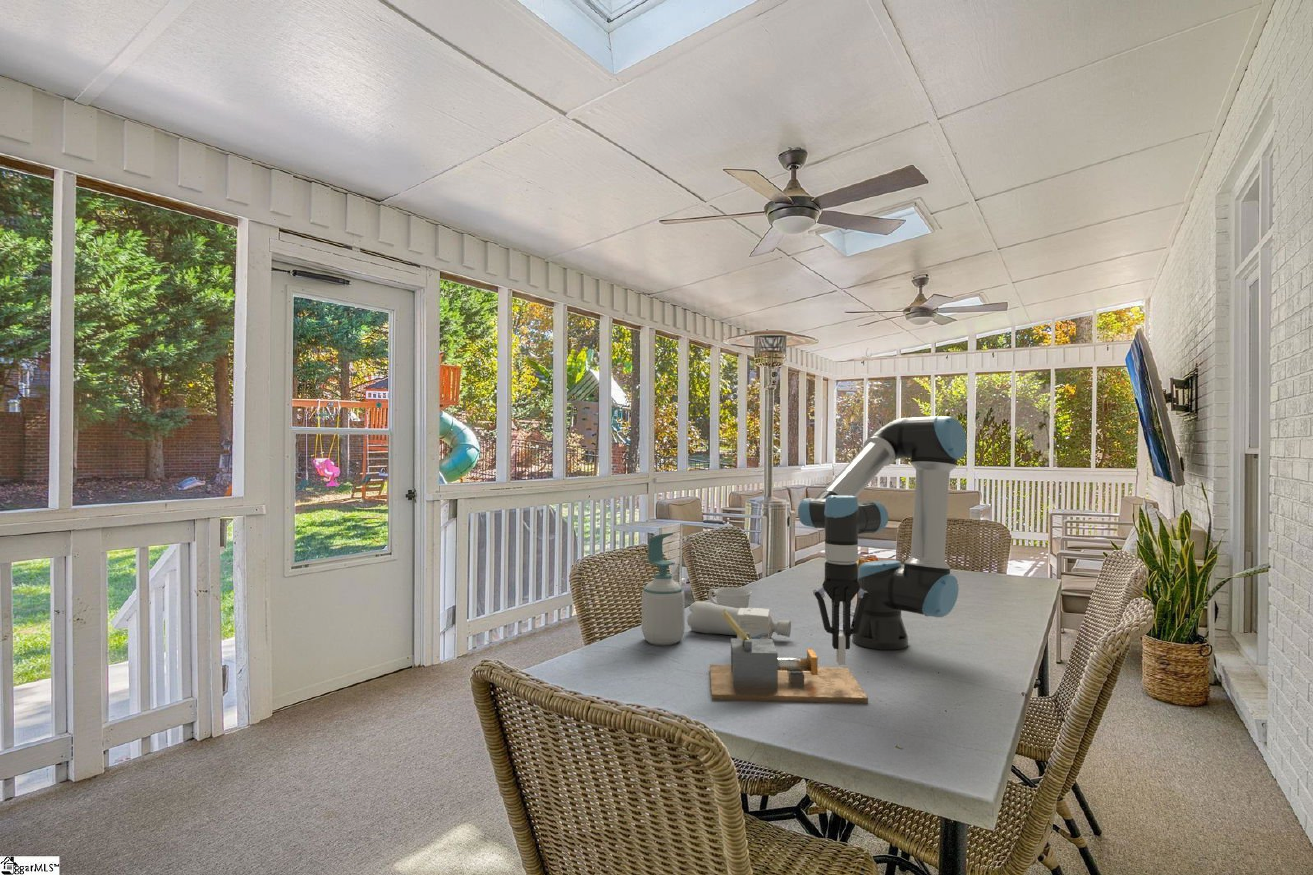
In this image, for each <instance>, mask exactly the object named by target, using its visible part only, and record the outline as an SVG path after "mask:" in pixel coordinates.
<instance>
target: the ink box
mask: <svg viewBox="0 0 1313 875" xmlns="http://www.w3.org/2000/svg"><path fill="white" fill-rule="evenodd" d="M769 614H770V608H761V607H759V608H758V607H748V608H740V609H739V611H738V614H737V624H738V625H739V626H740V628H741V629H742V630H743V631H744V632H749V639H770V638H771V637H770V617H769V616H770V615H769ZM769 637H770V638H769ZM736 639H741V638H740V637H739V635H738V634H737V635H736Z"/></svg>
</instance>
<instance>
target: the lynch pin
mask: <svg viewBox="0 0 1313 875" xmlns="http://www.w3.org/2000/svg"><path fill="white" fill-rule="evenodd" d="M818 665H819V664H818V655H817V654H816V653H815V651H814V649H806V657H778V671H803V672H810V673H811V675H818V667H819V666H818Z"/></svg>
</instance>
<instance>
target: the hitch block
mask: <svg viewBox="0 0 1313 875" xmlns="http://www.w3.org/2000/svg"><path fill="white" fill-rule="evenodd" d="M745 634H746V635H748V637H749V632H745ZM778 658H779V657H778V651H777V649H776V645H775V644H774V641H773V638H769V639H749V640H744V641H743V640H742V639H737V638H730V664H726V665H725V664H709V675H710V689H711V690H710V691H711V701H735V702H736V701H739V702H740V701H743V702H744V701H748V702H783V703H785V702H786V703H787V702H791V703H792V702H793V703H797V702H798V703H835V704H837V703H838V704H868V703H869V697H868V696H867V695H866V692H865V691H864V689H862V687H861V686H860V684H859V682H858V681H857V680H856V678H855V677H854V675H853V674H852V672H851V671H850V669H849V668H848V667H845V666H844V667H840V666H838V667H837V666H834V667H833V666H818V675H811V673H810V672H803V671H778Z"/></svg>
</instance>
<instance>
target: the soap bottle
mask: <svg viewBox="0 0 1313 875" xmlns="http://www.w3.org/2000/svg"><path fill="white" fill-rule="evenodd" d="M672 535H674V533H673V532H669V533H660V534H657V535H655V536H651V537H650V538H648V543H647V544H648V546H647V547H648V548H647V550H648V551H647V553H648V556H647V557H648V558H647V559H648V562H649V564H650V565H654V566H656V569H658V570H659V573H655V574H654V575H653V577H654V578H653V579H652V580H651V581H650V582H648V583H647V584H646V585H644V586H643V587H642V589H643V590H642V591H641V632H642V635H643V637H644V639H645V641H646V642H648V643H649V644H652V645H655V646H671V645H672V646H673V645H675V644H677V643H678V642H680V641H681V639H682V638H683V636H684V632H685V626H686V625H685V622H686V621H685V620H686V618H685V616H686V615H685V591H684V588H683V586H682V585H680V584H679V583H678V582H677V581H675V580H674V579H673V575H672V574H671V573H668V572H667V570H668V569H670V566H673V565H675V564H676V562H675V561H670V560H665V559H664V557H663V540H664V539H665V538H667V537H669V536H672Z"/></svg>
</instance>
